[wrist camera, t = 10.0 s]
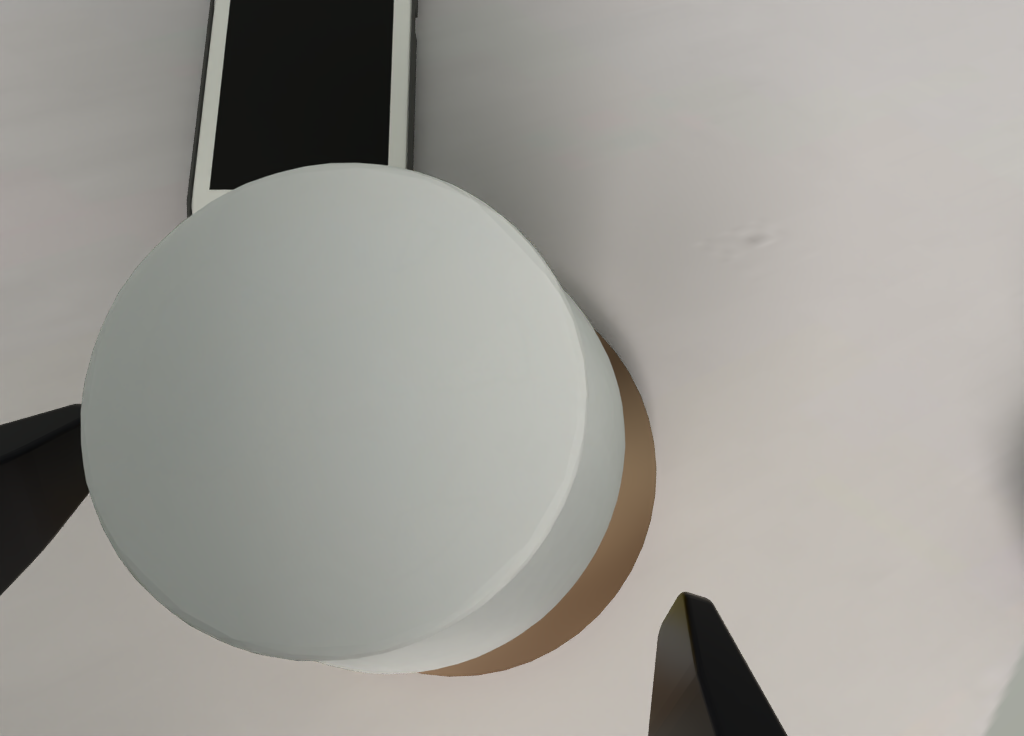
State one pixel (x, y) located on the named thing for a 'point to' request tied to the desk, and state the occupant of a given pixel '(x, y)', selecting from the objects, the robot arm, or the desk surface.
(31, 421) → the robot arm
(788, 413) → the desk surface
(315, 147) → the cell phone
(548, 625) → the brown rimmed plate
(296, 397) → the supplement bottle
